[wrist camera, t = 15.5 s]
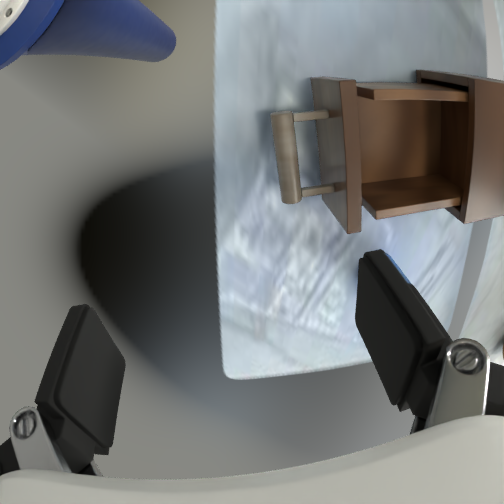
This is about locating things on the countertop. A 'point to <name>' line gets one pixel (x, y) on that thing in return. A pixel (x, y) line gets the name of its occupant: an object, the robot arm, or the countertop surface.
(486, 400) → the robot arm
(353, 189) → the drawer
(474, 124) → the cabinet
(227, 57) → the countertop surface
